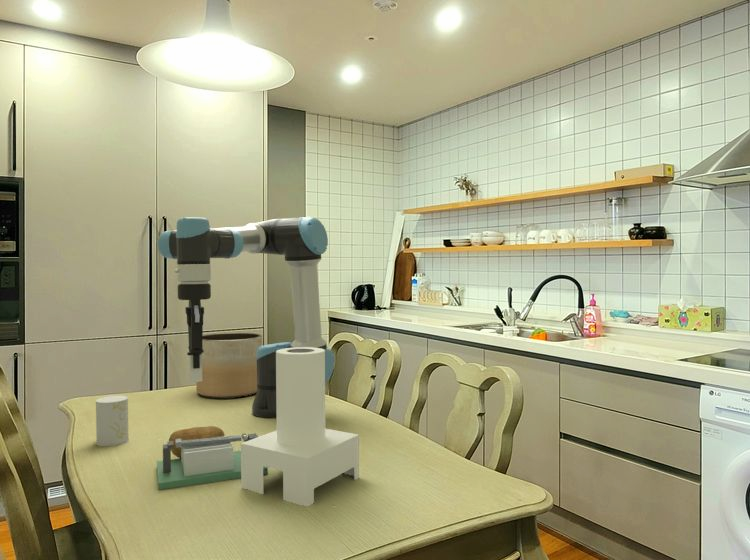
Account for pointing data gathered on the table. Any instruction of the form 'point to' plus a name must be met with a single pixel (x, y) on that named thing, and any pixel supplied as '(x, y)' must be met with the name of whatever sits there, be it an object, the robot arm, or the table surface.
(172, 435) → the potato
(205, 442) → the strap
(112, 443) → the white patterned canister
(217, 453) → the heatsink board
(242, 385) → the planter
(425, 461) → the table surface
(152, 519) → the table surface
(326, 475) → the paper towel holder
